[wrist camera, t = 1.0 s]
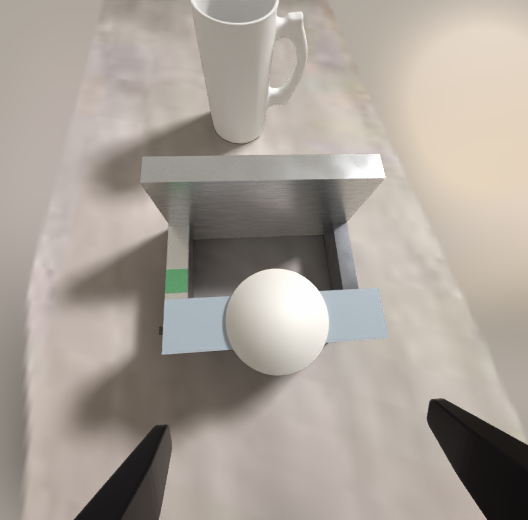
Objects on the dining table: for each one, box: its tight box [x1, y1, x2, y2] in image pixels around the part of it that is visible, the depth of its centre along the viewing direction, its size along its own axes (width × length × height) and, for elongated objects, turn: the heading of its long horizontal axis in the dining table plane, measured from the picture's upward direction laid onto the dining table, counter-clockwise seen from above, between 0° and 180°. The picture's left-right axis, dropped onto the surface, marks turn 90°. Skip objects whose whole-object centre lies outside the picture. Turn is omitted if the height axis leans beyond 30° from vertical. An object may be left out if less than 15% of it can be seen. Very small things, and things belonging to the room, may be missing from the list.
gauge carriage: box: [159, 269, 389, 375], centre depth 19 cm, size 6×15×9 cm, turn 94°
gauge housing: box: [140, 154, 385, 300], centre depth 20 cm, size 11×17×10 cm, turn 94°
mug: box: [190, 0, 307, 143], centre depth 25 cm, size 10×7×12 cm, turn 94°
